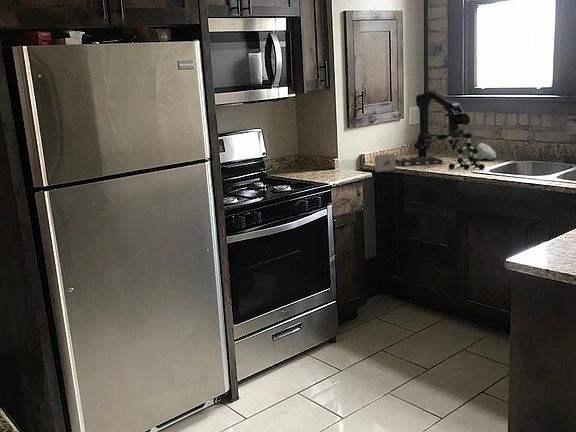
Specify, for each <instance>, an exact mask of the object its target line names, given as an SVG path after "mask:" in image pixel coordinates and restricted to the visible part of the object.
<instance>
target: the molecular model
mask: <svg viewBox="0 0 576 432" xmlns="http://www.w3.org/2000/svg"><path fill="white" fill-rule="evenodd" d="M466 137H467V138H466V139H467V143H465V146H464V147H463V148H461V147H459V148H458V149H457V154H458V156H459V157H458V158H457V160H456V162H454V163H452V162H451V163H450V164H449V165H448V169H451V170H453V169H455V166H456V165H458V164H459V166H460V167H461V168H463V169H464V170H469V168H470V166H471V165H473V166H474V167H475V168H478V169H479V170H484V169H485V168H486V167H485V165H484V163H480V161H479V159H477V153H478V149H477V147H474V146H473V144H472V142H471V141H470V140H471V138H472V133H471V132H468V133H467V134H466ZM465 149H467V150H468V152H469V156H468V158H467V160H465V161H464V159H463V158H462V154H463V152H464V150H465ZM468 162H470V163H468Z"/></svg>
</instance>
